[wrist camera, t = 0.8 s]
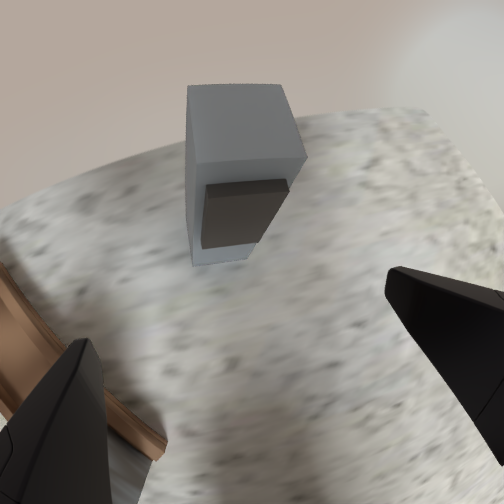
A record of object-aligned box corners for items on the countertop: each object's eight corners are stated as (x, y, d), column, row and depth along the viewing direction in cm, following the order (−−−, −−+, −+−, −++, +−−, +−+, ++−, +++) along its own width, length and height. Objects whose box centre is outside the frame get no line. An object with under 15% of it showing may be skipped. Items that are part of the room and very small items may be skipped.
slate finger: (248, 266, 23) (312, 171, 11) (194, 274, 22) (199, 178, 10) (237, 210, 24) (281, 84, 12) (185, 215, 23) (187, 85, 11)
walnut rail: (167, 441, 18) (149, 517, 8) (111, 499, 15) (69, 580, 5) (2, 263, 19) (-81, 207, 9) (-41, 323, 16) (-128, 297, 6)
